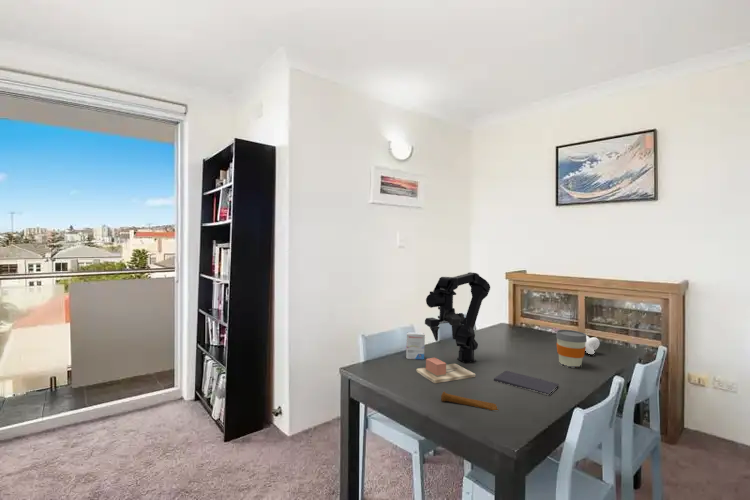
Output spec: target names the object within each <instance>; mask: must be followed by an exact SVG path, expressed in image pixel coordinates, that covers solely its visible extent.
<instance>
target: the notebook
mask: <svg viewBox="0 0 750 500" xmlns="http://www.w3.org/2000/svg"><path fill="white" fill-rule="evenodd" d="M493 381H494V382H497V381H498V382H497V383H500V382H502V383H501V384H504V383H505V385H507V384H510V385H509V386H511V385H513V386H512V387H515V386H517V387H516V388H518V387H522V388H526V389H531V390H535V391H538V392H542V393H546V394H549V393H550V392H552V391H553V390H554V389H555V388H556V387H557V386H558V387H559V386H560V384H559V383H557V382H553V381H549V380H545V379H541V378H537V377H533V376H529V375H525V374H523V373H522V374H521V373H517V372H513V371H510V370H505V371H503V372H502V373H500V374H498V375H497V376H495V377H493ZM522 388H521V389H522ZM556 389H557V388H556ZM556 389H555V390H556ZM555 390H554V391H555ZM554 391H553V392H554ZM553 392H552V393H553Z"/></svg>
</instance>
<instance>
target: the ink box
mask: <svg viewBox="0 0 750 500" xmlns="http://www.w3.org/2000/svg"><path fill="white" fill-rule="evenodd" d="M425 335H426V334H425V332H413V331H412V332H411V331H410V332H409V331H408V332H406V346H405V347H406V353H405V357H406V359H409V360H425V348H426V347H425V343H426V342H425V338H426V337H425Z"/></svg>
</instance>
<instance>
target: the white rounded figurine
mask: <svg viewBox="0 0 750 500" xmlns="http://www.w3.org/2000/svg"><path fill="white" fill-rule="evenodd" d="M586 340H587V341H586V343H585V347H586V349H585V351H586V352H585V353H586V354H587V353H588V354H594V353H595V352H596V350H597V349H598V348H599V347H600V345H601V343H600V340H599V339H598V338H597V337H590V336H589V335H587V334H586ZM594 350H595V351H594ZM594 355H595V354H594Z"/></svg>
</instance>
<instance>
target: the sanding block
mask: <svg viewBox="0 0 750 500" xmlns="http://www.w3.org/2000/svg"><path fill="white" fill-rule="evenodd" d="M446 365H447V362H445V361H442V360H441V359H438V358H437V357H431V358H426V359H425V368H426V371H428V372H429V373H431V374H433V375H434V376H436V377H440V376H446Z"/></svg>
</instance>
